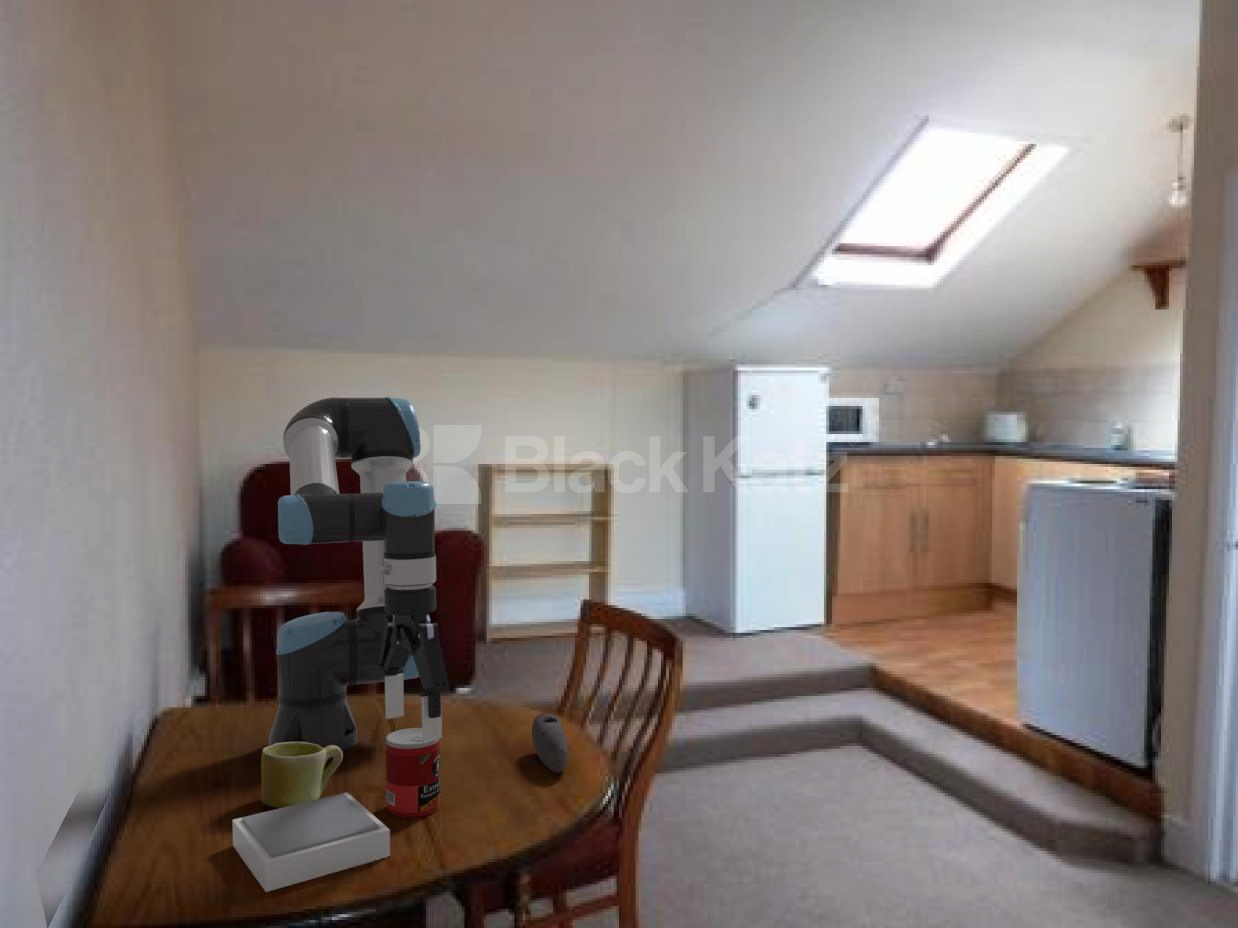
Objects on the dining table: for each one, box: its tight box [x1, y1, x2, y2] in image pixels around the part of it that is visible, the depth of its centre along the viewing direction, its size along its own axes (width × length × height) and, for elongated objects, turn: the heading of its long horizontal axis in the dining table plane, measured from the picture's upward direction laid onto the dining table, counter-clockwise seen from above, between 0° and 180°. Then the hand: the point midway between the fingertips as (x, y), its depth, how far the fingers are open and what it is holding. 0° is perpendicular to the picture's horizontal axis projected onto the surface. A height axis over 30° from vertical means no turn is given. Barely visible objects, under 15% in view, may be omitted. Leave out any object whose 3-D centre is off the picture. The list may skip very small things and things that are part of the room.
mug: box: [260, 742, 344, 809], centre depth 143 cm, size 12×10×10 cm
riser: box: [231, 791, 391, 893], centre depth 125 cm, size 16×16×4 cm
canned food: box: [385, 727, 441, 819], centre depth 139 cm, size 8×8×11 cm
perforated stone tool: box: [531, 712, 569, 774], centre depth 158 cm, size 15×5×7 cm, turn 13°
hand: (412, 727), depth 139 cm, fingers open, 13 cm apart
